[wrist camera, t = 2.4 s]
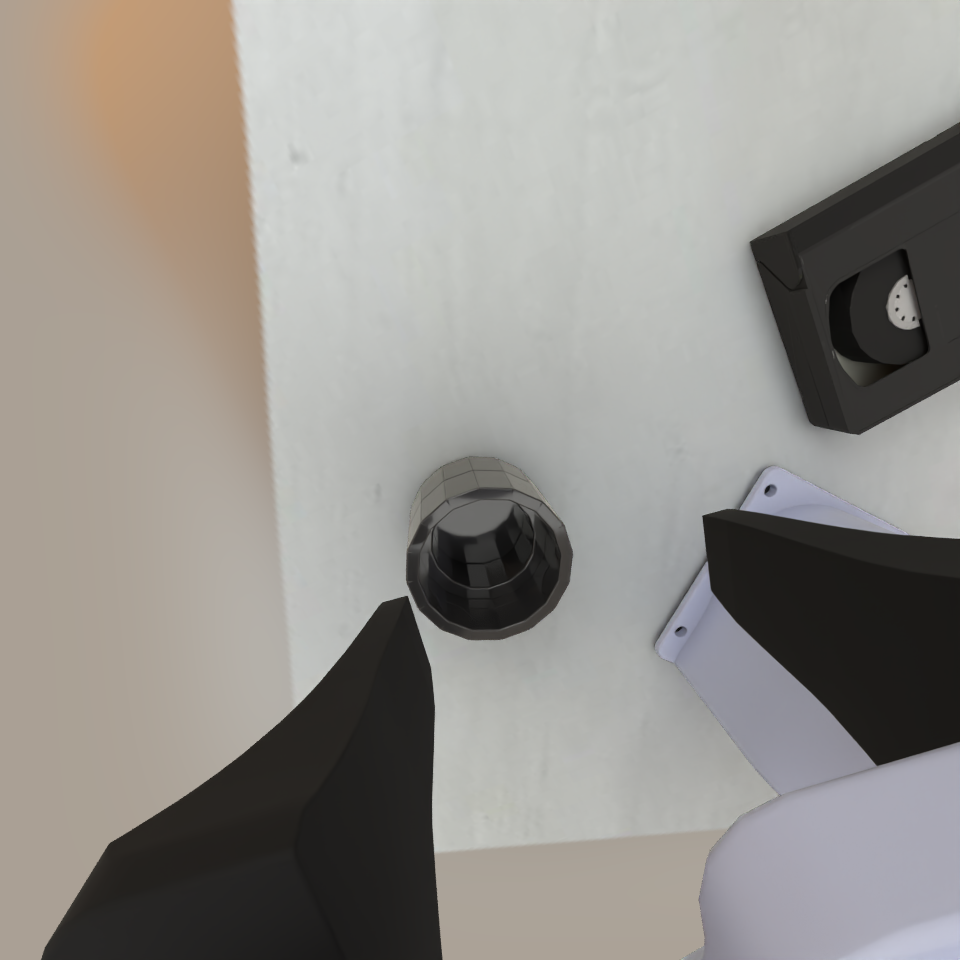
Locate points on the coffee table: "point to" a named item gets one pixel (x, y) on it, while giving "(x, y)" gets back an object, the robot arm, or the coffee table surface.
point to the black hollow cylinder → (485, 550)
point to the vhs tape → (872, 289)
